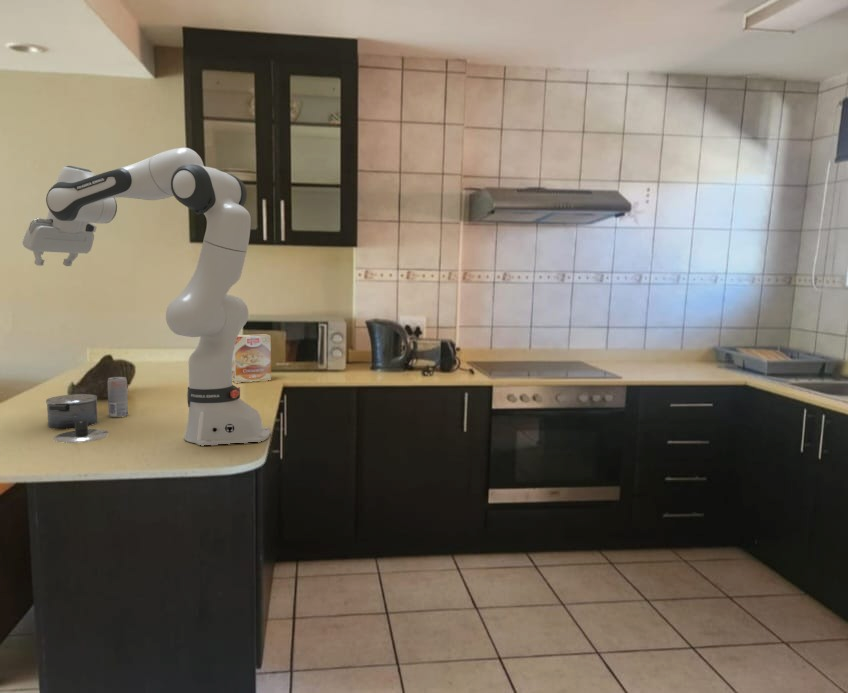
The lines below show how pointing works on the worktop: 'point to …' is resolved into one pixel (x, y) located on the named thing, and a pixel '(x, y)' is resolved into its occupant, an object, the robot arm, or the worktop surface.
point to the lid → (81, 433)
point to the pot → (71, 410)
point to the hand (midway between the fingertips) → (53, 265)
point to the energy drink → (117, 396)
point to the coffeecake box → (252, 358)
